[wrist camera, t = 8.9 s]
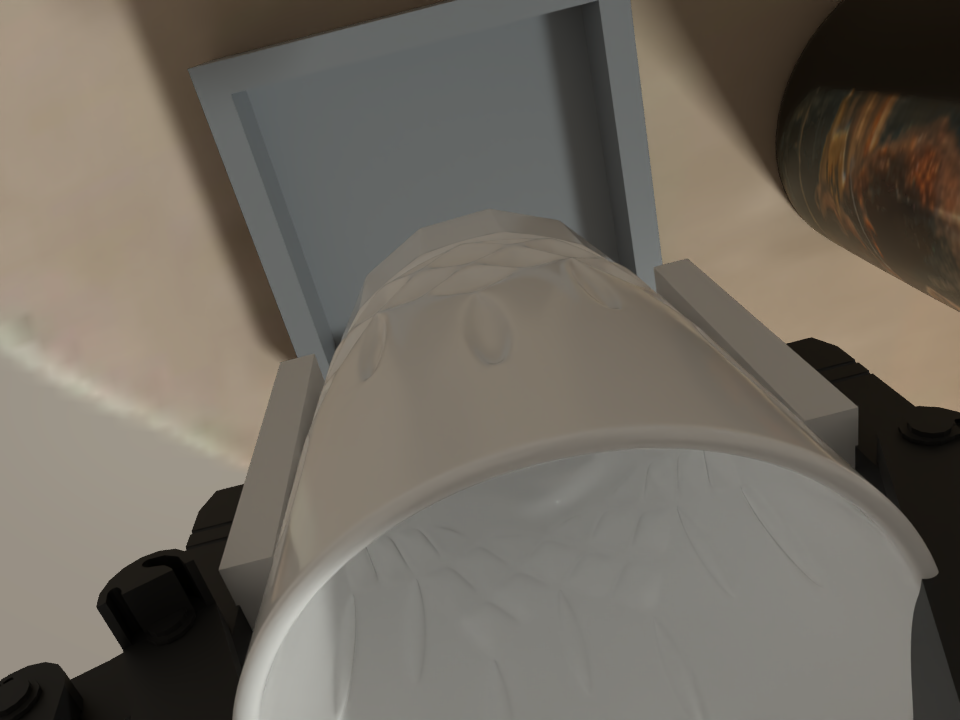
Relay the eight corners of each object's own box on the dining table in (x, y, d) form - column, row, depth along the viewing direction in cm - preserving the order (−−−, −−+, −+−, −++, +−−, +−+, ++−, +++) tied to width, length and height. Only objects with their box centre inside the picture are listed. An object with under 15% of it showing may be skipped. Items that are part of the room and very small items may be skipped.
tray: (211, 60, 26) (187, 69, 23) (597, -39, 26) (624, -43, 23) (334, 396, 33) (328, 438, 29) (645, 317, 33) (672, 351, 29)
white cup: (301, 477, 18) (212, 949, 9) (337, 147, 15) (258, 376, 6) (609, 506, 19) (796, 940, 10) (704, 212, 16) (1091, 476, 7)
